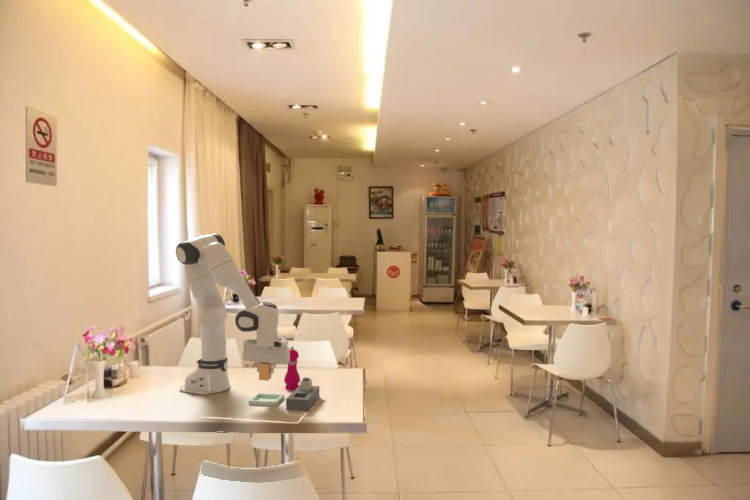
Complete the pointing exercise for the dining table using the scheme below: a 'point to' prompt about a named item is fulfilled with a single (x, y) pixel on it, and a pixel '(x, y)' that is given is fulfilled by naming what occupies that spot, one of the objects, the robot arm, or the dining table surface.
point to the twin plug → (306, 384)
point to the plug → (264, 371)
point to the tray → (266, 399)
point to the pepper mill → (292, 371)
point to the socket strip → (302, 399)
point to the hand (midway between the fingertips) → (265, 372)
